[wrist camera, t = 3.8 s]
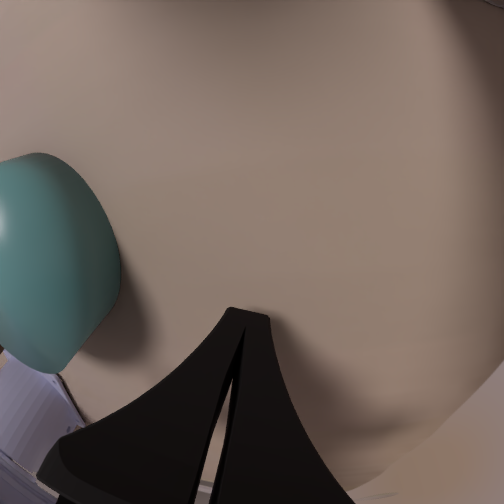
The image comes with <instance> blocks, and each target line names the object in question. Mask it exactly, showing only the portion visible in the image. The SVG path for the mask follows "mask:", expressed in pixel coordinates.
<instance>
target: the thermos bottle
mask: <svg viewBox="0 0 504 504" xmlns="http://www.w3.org/2000/svg"><path fill="white" fill-rule="evenodd" d="M485 1H486V2H488V3H490V4H492V5H495V6H498V7H501V8H504V0H485Z"/></svg>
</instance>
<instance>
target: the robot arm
mask: <svg viewBox="0 0 504 504" xmlns="http://www.w3.org/2000/svg"><path fill="white" fill-rule="evenodd" d="M3 352H4V354H5V356H6V358H7V359H8V361H7V363H6V364H5V365H4V366H3V368H2V369H1V370H0V504H194V502H195V498H196V495H197V491H198V487H199V483H200V479H201V475H202V472H203V468H204V464H205V460H206V456H207V452H208V449H209V445H210V441H211V438H212V434H213V431H214V428H215V426H216V423H217V420H218V418H219V415H220V412H221V409H222V407H223V404H224V401H225V398H226V396H227V393H228V390H229V387H230V384H231V382H232V388H231V396H230V403H229V411H228V418H227V426H226V433H225V439H224V444H223V448H222V452H221V456H220V460H219V465H218V469H217V473H216V477H215V481H214V485H213V489H212V493H211V497H210V500H209V504H355V503H354V501H353V500H352V499H351V498H350V497H349V496H348V495H347V493H346V492H345V491H344V490H343V488H342V487H341V486H340V485H339V483H338V482H337V481H336V479H335V478H334V476H333V475H332V474H331V472H330V471H329V469H328V468H327V467H326V465H325V464H324V462H323V460H322V459H321V457H320V456H319V454H318V452H317V451H316V449H315V447H314V446H313V444H312V442H311V441H310V439H309V437H308V435H307V433H306V432H305V430H304V428H303V426H302V424H301V422H300V420H299V417H298V415H297V413H296V411H295V409H294V406H293V404H292V402H291V399H290V397H289V394H288V391H287V389H286V386H285V383H284V380H283V377H282V374H281V371H280V367H279V364H278V360H277V357H276V353H275V349H274V344H273V339H272V334H271V327H270V318H269V317H268V315H264V314H260V313H255V312H251V311H247V310H243V309H238V308H234V307H229V308H227V309H226V311H225V313H224V315H223V316H222V318H221V319H220V321H219V322H218V323H217V325H216V326H215V327H214V329H213V330H212V331H211V332H210V334H209V335H208V336H207V337H206V338H205V339H204V340H203V342H202V343H201V344H200V345H199V346H198V347H197V348H196V349H195V350H194V351H193V352H192V353H191V354H190V355H189V356H188V357H187V358H186V359H185V360H184V361H183V362H182V363H181V364H180V365H179V366H178V367H177V368H176V369H175V370H174V371H172V372H171V373H170V374H169V375H168V376H167V377H165V378H164V379H163V380H162V381H160V382H159V383H158V384H157V385H155V386H154V387H153V388H151V389H150V390H148V391H147V392H146V393H144V394H143V395H141V396H140V397H139V398H137V399H136V400H134V401H132V402H131V403H129V404H128V405H126V406H124V407H123V408H121V409H119V410H117V411H116V412H114V413H112V414H110V415H108V416H107V417H105V418H103V419H101V420H99V421H97V422H95V423H93V424H91V425H88V426H86V425H85V423H84V421H83V420H82V418H81V416H80V415H79V413H78V411H77V410H76V408H75V406H74V405H73V403H72V401H71V399H70V397H69V396H68V394H67V392H66V390H65V388H64V386H63V384H62V382H61V380H60V378H59V377H58V376H57V375H56V374H46V373H42V372H39V371H36V370H34V369H32V368H30V367H28V366H26V365H25V364H23V363H22V362H20V361H19V360H17V359H16V358H15V357H14V356H12V355H11V354H10V353H9V352H8V351H7V350H6V349H4V350H3ZM232 379H233V381H232ZM76 425H79V426H80V427H82V428H81V429H79V430H77V431H74V429H75V427H76ZM85 426H86V427H85ZM73 431H74V432H73ZM13 460H15V461H16V462H17V463H18V464H20V465H21V466H22V467H24V468H25V469H27V470H28V471H29V472H31V473H33V472H37V474H36V476H37V479H38V480H39V481H41V482H42V483H44V484H45V485H46V486H48V487H49V488H51V489H52V490H54V491H56V492H57V493H59V494H60V495H59V497H58V498H56V497H54V496H53V495H51V494H50V493H48V492H47V491H45V490H44V489H42V488H40V487H39V486H38V485H37V483H36V482H35V481H36V478H35V477H33V476H32V475H31V474H29V473H28V472H27V471H26V470H24V469H23V468H21V467H20V466H19V465H18V464H16V463H15V462H14V461H13Z"/></svg>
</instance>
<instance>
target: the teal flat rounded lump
mask: <svg viewBox="0 0 504 504" xmlns="http://www.w3.org/2000/svg"><path fill="white" fill-rule="evenodd" d="M120 281H121V266H120V258H119V252H118V247H117V243H116V239H115V236H114V233H113V230H112V227H111V225H110V223H109V220H108V218H107V216H106V214H105V212H104V210H103V208H102V206H101V204H100V202H99V201H98V199H97V197H96V196H95V194H94V193H93V191H92V190H91V188H90V187H89V186H88V185H87V183H86V182H85V181H84V179H83V178H82V177H81V176H80V175H79V174H78V173H77V172H76V171H75V170H74V169H73V168H72V167H70V166H69V165H68V164H67V163H65V162H64V161H62V160H60V159H59V158H57V157H55V156H52V155H49V154H45V153H30V154H27V155H23V156H20V157H17V158H13V159H10V160H7V161H4V162H1V163H0V345H1V346H2V347H3V348H4V349H6V350H7V351H8V352H9V353H10V354H11V355H12V356H14V357H15V358H16V359H17V360H19V361H20V362H22V363H23V364H25V365H26V366H28V367H30V368H32V369H34V370H36V371H39V372H42V373H46V374H56V373H59V372H61V371H62V370H63V369H64V368H65V367H66V366H67V364H68V363H69V362H70V360H71V359H72V358H73V356H74V355H75V354H76V353H77V351H78V350H79V349H80V347H81V346H82V345H83V344H84V342H85V341H86V340H87V339H88V337H89V336H90V335H91V334H92V332H93V331H94V330H95V329H96V327H97V326H98V325H99V324H100V323H101V321H102V320H103V319H104V318H105V317H106V315H107V314H108V313H109V312H110V310H111V309H112V308H113V306H114V304H115V302H116V300H117V297H118V293H119V290H120Z"/></svg>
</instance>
